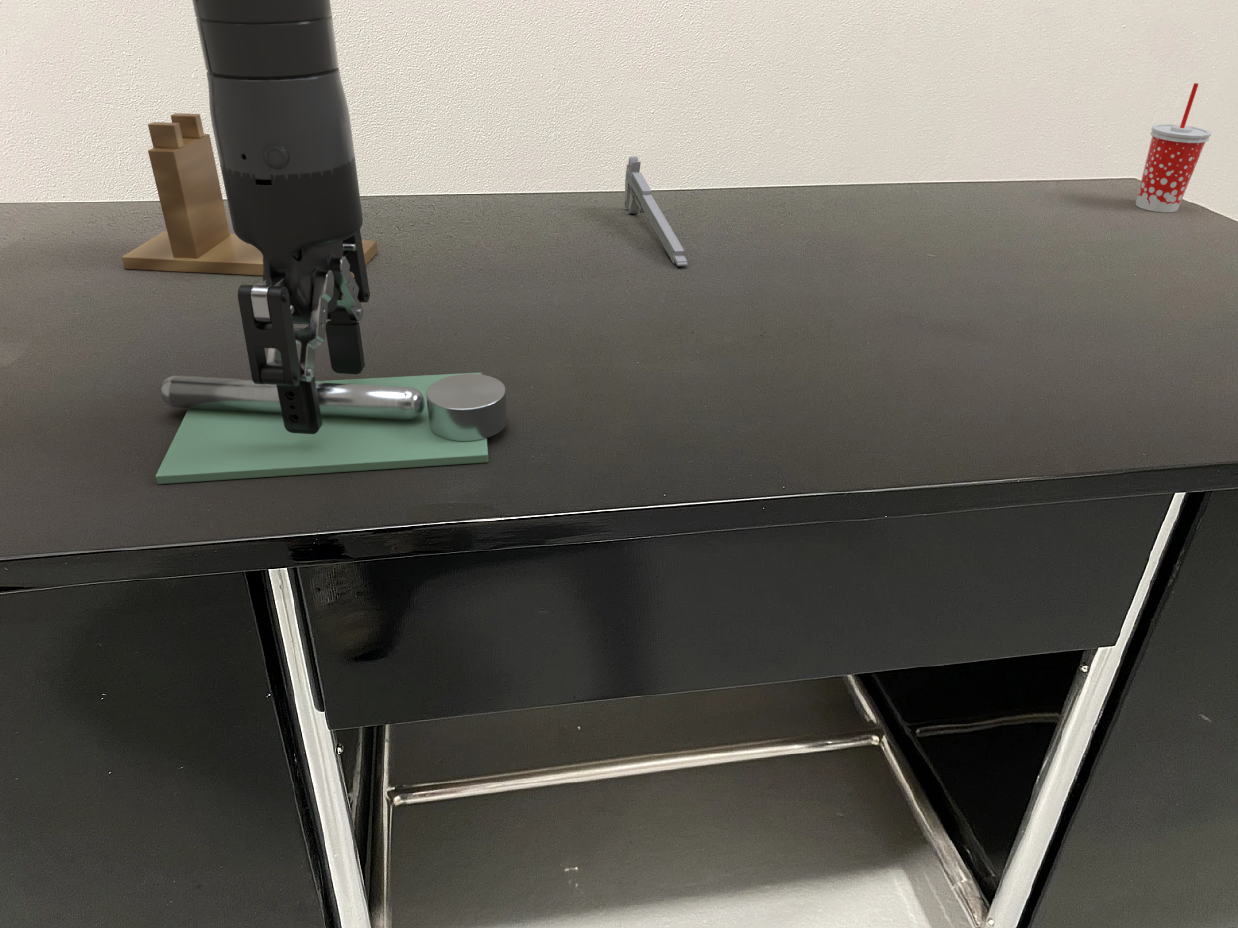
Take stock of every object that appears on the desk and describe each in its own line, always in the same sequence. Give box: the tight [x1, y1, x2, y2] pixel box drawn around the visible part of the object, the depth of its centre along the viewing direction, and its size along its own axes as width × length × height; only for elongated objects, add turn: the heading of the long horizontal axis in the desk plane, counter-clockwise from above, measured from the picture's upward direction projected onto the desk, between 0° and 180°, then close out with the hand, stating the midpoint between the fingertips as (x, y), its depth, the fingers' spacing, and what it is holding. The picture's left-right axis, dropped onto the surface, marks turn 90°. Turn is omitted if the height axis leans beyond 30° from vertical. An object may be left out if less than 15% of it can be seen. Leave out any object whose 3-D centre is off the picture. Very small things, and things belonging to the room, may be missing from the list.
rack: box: [121, 112, 379, 279], centre depth 87 cm, size 22×8×13 cm, turn 85°
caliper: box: [624, 156, 688, 267], centre depth 98 cm, size 20×1×6 cm, turn 15°
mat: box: [155, 372, 489, 485], centre depth 63 cm, size 20×12×1 cm, turn 99°
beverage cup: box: [1135, 82, 1212, 213], centre depth 109 cm, size 6×6×14 cm
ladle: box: [159, 373, 508, 441], centre depth 63 cm, size 24×5×2 cm, turn 85°
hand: (327, 399), depth 63 cm, fingers open, 8 cm apart
